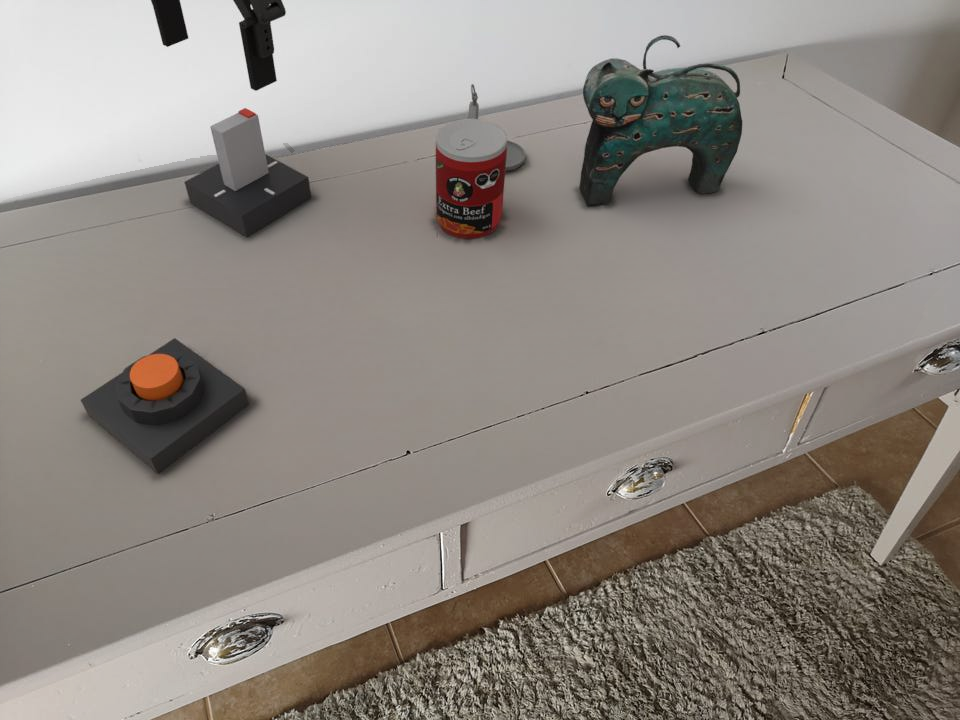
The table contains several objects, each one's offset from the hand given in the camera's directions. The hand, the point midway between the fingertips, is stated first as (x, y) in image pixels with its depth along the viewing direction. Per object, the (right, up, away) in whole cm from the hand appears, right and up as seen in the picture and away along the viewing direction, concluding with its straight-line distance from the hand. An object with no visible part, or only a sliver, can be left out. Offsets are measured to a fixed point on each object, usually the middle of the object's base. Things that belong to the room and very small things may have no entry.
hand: (218, 62), depth 80 cm
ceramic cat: (+47, -9, +17) cm, 51 cm away
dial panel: (0, -11, +13) cm, 17 cm away
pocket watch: (+28, -4, +21) cm, 35 cm away
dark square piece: (-1, -35, -9) cm, 36 cm away
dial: (0, -9, +11) cm, 14 cm away
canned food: (+25, -14, +12) cm, 32 cm away
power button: (-1, -33, -12) cm, 35 cm away
